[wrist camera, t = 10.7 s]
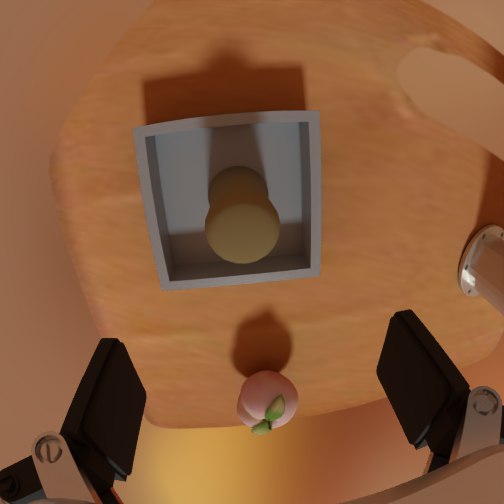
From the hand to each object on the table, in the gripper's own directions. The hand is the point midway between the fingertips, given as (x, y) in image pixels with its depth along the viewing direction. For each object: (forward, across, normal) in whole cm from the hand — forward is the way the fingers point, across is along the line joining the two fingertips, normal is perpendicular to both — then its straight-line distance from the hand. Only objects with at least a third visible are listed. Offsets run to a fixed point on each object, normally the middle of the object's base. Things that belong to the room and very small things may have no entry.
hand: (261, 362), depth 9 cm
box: (+22, +1, -1) cm, 22 cm away
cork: (+22, 0, -1) cm, 22 cm away
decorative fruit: (+23, -1, +26) cm, 35 cm away
